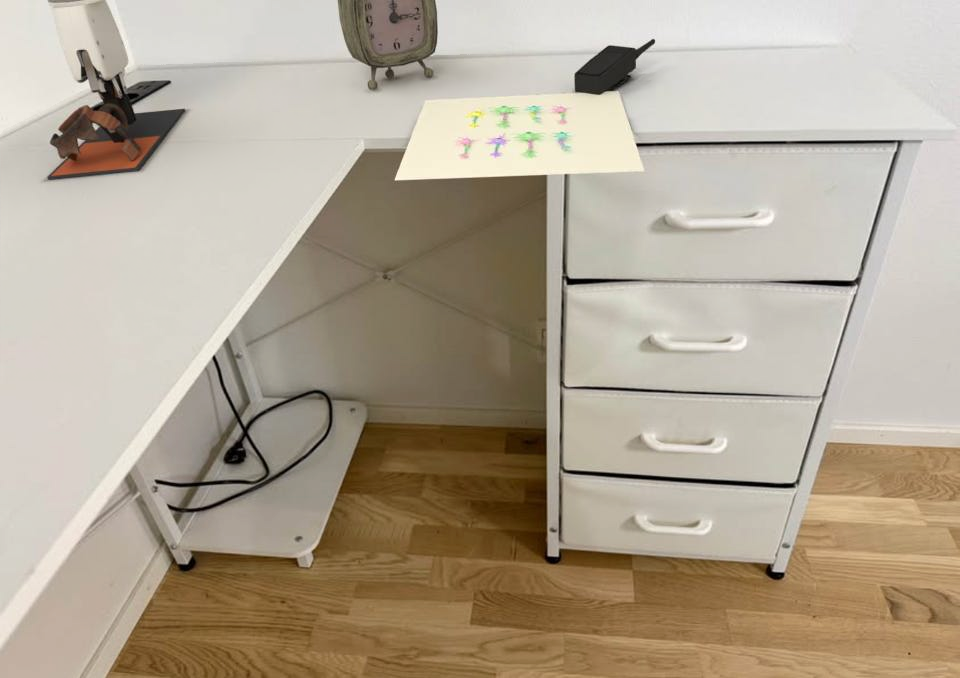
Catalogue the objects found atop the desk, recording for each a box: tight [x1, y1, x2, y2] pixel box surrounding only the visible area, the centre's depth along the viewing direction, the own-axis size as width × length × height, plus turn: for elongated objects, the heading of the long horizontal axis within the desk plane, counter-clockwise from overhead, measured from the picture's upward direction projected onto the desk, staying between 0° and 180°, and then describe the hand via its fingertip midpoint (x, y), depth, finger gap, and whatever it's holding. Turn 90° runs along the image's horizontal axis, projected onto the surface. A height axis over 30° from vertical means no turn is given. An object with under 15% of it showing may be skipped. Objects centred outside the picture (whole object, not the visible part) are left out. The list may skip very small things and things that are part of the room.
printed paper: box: [394, 90, 645, 181], centre depth 93 cm, size 30×30×2 cm
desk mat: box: [46, 108, 186, 181], centre depth 102 cm, size 12×26×1 cm, turn 6°
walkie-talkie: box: [573, 38, 656, 95], centre depth 109 cm, size 6×6×20 cm
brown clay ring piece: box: [49, 103, 140, 161], centre depth 94 cm, size 12×10×8 cm
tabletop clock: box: [337, 0, 439, 91], centre depth 112 cm, size 14×9×25 cm, turn 120°
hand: (124, 123), depth 103 cm, fingers closed
